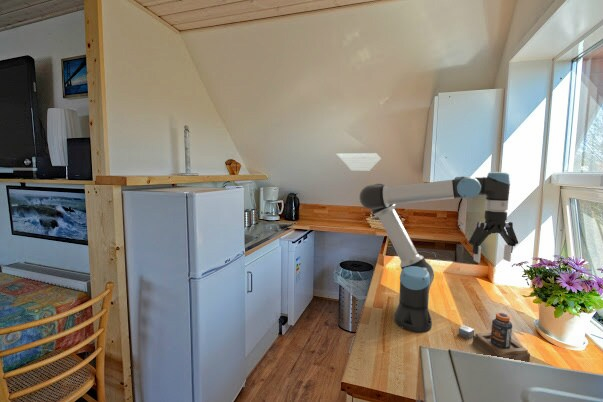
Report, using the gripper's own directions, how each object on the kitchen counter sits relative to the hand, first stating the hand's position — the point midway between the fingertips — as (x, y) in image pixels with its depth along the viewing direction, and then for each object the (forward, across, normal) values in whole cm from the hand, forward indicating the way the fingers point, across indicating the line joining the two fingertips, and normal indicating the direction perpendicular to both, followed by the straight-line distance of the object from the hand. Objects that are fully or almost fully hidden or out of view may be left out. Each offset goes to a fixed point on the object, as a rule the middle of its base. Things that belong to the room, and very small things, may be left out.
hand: (491, 261), depth 116 cm
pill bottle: (+26, -8, -16) cm, 31 cm away
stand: (+29, -8, -16) cm, 34 cm away
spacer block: (+29, -13, -5) cm, 32 cm away
